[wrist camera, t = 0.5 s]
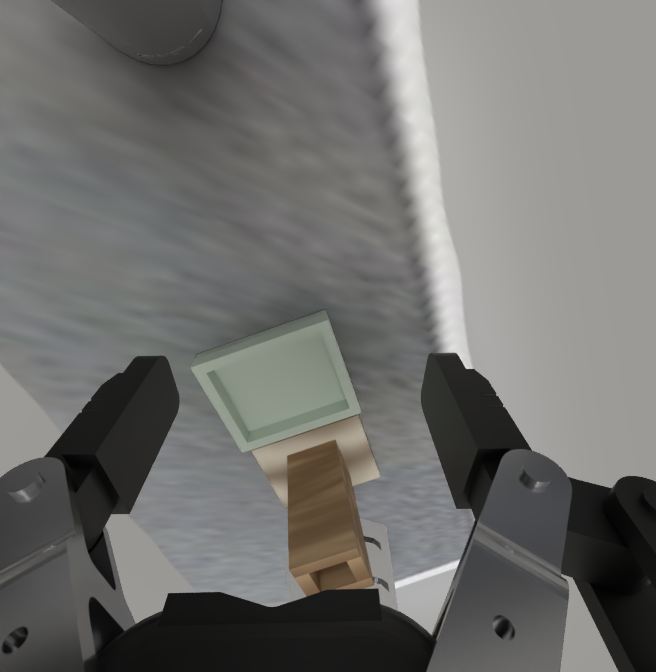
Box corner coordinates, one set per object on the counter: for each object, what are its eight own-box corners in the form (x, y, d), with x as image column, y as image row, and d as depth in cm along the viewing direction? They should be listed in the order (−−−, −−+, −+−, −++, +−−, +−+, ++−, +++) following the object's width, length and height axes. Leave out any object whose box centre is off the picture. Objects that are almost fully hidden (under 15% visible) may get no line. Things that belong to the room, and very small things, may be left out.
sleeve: (287, 455, 38) (288, 570, 27) (335, 439, 37) (356, 548, 27) (304, 488, 40) (312, 605, 29) (349, 473, 40) (374, 585, 29)
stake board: (252, 441, 38) (245, 508, 30) (355, 406, 38) (373, 466, 30) (285, 497, 42) (286, 569, 35) (377, 467, 42) (398, 532, 34)
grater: (386, 525, 47) (449, 741, 29) (348, 570, 51) (383, 788, 33) (319, 507, 44) (344, 737, 26) (283, 556, 47) (284, 789, 30)
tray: (196, 354, 33) (190, 367, 30) (325, 309, 32) (328, 319, 30) (244, 436, 38) (242, 453, 35) (356, 398, 37) (361, 412, 35)
